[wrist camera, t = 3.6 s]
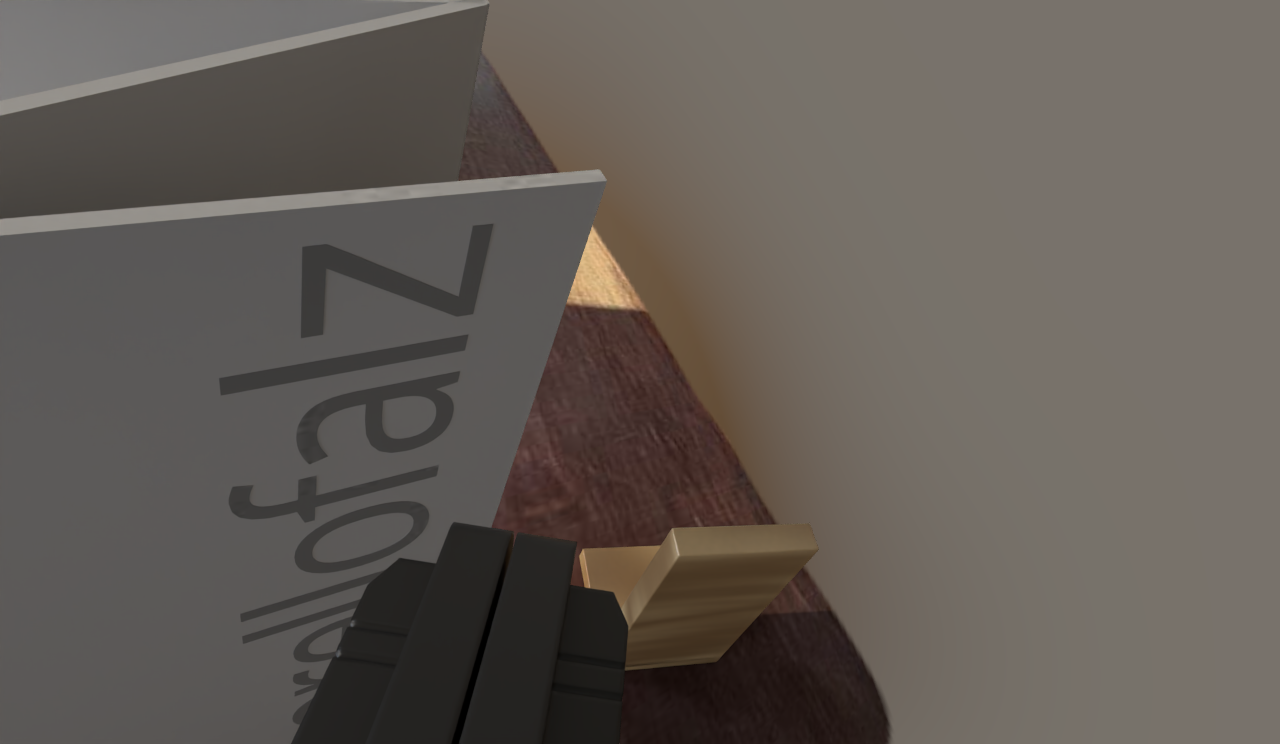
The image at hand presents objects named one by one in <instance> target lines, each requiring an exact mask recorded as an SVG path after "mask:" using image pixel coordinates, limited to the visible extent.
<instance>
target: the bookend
mask: <svg viewBox="0 0 1280 744" xmlns="http://www.w3.org/2000/svg"><path fill="white" fill-rule="evenodd" d="M818 550H819V549H818V545H817V543H816V540H815V537H814V534H813V531H812V528H811V525H810V524H779V525H750V526H721V527H692V528H672V529H671V531H670V532H669V534H668V535H667V537H666V539H665V540H664V542H663V543H662V545H661V546H639V547H616V548H592V549H583V550H582V552H581V554H580V556H579V557H580V563H581V569H582V575H583V580H584V586H585V587H586V588H592V589H598V590H605V591H611V592H614V594H615V596H616V599H617V601H618V603H619V605H620V608H621V610H622V612H623V615H624V617H625V619H626V621H627V624H628V626H629V627H628V640H627V652H626V664H625V671H626V670H636V669H647V668H658V667H668V666H679V665H690V664H700V663H711V662H717V661H718V660H719V659H720V658H721V657H722V655H723V654H724V653H725V652H726V651H727V650H728V649H729V648H730V647H731V645H732V644H733V643H734V642H735V641H736V640H737V639H738V638H739V637H740V636H741V634H742V633H743V632H744V631H745V630H746V629H747V628H748V627H749V626H750V625H751V623H752V622H753V621H754V620H755V619H756V618H757V617H758V616H759V615H760V614H761V613H762V611H763V610H764V609H765V608H766V607H767V606H768V605H769V604H770V603H771V602H772V600H773V599H774V598H775V597H776V596H777V595H778V594H779V593H780V592H781V591H782V589H783V588H784V587H785V586H786V585H787V584H788V583H789V582H790V581H791V580H792V579H793V577H794V576H795V575H796V574H797V573H798V572H799V571H800V570H801V569H802V568H803V566H804V565H805V564H806V563H807V562H808V561H809V560H810V559H811V558H812V556H813V555H814V554H815V553H816V552H817V551H818Z"/></svg>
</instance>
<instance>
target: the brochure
mask: <svg viewBox="0 0 1280 744" xmlns="http://www.w3.org/2000/svg"><path fill="white" fill-rule="evenodd" d="M488 9H489V2H488V1H487V0H0V744H291V742H292V740H293V738H294V736H295V734H296V732H297V730H298V728H299V726H300V724H301V722H302V720H303V718H304V716H305V713H306V711H307V709H308V707H309V705H310V703H311V701H312V699H313V697H314V695H315V693H316V691H317V689H318V687H319V684H320V682H321V680H322V678H323V676H324V674H325V672H326V670H327V668H328V666H329V664H330V662H331V660H332V658H333V657H335V655H336V650H337V647H338V645H339V643H340V641H341V639H342V637H343V635H344V633H345V631H346V629H347V627H349V626H350V622H351V618H352V616H353V614H354V612H355V610H356V608H357V606H358V604H359V602H360V600H361V597H362V595H363V593H364V591H365V589H366V587H367V585H368V584H369V583H370V582H371V581H373V580H374V579H375V578H376V577H377V576H379V575H380V574H381V573H382V572H383V571H385V570H386V569H387V568H388V567H389V566H391V565H392V564H393V563H394V562H395V561H397V560H398V559H399V558H405V559H411V560H417V561H423V562H430V563H436V562H437V559H438V557H439V554H440V552H441V549H442V547H443V544H444V541H445V539H446V536H447V534H448V531H449V529H450V527H451V525H452V523H453V522H458V523H465V524H471V525H477V526H483V527H490V528H491V527H492V524H493V521H494V518H495V515H496V512H497V509H498V506H499V503H500V500H501V497H502V494H503V491H504V488H505V485H506V482H507V479H508V476H509V473H510V470H511V467H512V464H513V461H514V458H515V455H516V452H517V449H518V446H519V443H520V440H521V437H522V434H523V431H524V428H525V425H526V422H527V419H528V416H529V413H530V410H531V407H532V404H533V401H534V398H535V395H536V392H537V389H538V386H539V383H540V380H541V377H542V374H543V371H544V368H545V365H546V362H547V359H548V356H549V353H550V350H551V347H552V344H553V341H554V338H555V335H556V332H557V329H558V326H559V323H560V320H561V317H562V314H563V311H564V308H565V305H566V302H567V299H568V296H569V293H570V290H571V287H572V284H573V281H574V278H575V275H576V272H577V269H578V266H579V263H580V260H581V257H582V254H583V251H584V248H585V245H586V242H587V239H588V236H589V233H590V230H591V227H592V224H593V221H594V218H595V215H596V212H597V209H598V206H599V203H600V200H601V197H602V194H603V191H604V188H605V185H606V182H607V180H606V178H605V177H604V175H603V174H602V173H601V171H600V170H588V171H576V172H564V173H551V174H539V175H527V176H515V177H503V178H491V179H479V180H467V181H458V177H459V171H460V166H461V160H462V155H463V149H464V143H465V138H466V132H467V127H468V121H469V115H470V110H471V104H472V99H473V93H474V87H475V82H476V76H477V71H478V65H479V59H480V54H481V48H482V42H483V36H484V31H485V25H486V20H487V14H488Z"/></svg>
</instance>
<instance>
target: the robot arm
mask: <svg viewBox="0 0 1280 744" xmlns="http://www.w3.org/2000/svg"><path fill="white" fill-rule="evenodd" d="M513 542H514V532H513V531H508V530H502V529H496V528H490V527H483V526H477V525H471V524H465V523H458V522H453V523H452V525H451V527H450V529H449V531H448V534H447V536H446V539H445V541H444V544H443V547H442V549H441V552H440V554H439V557H438V559H437V562H436V563H430V562H423V561H417V560H411V559H405V558H399V559H398V560H397V561H395V562H394V563H393V564H392V565H391V566H389V567H388V568H387V569H386V570H385V571H383V572H382V573H381V574H380V575H379V576H377V577H376V578H375V579H374V580H373V581H371V582H370V583H369V584H368V585H367V587H366V589H365V591H364V593H363V595H362V597H361V600H360V602H359V604H358V606H357V608H356V610H355V612H354V614H353V616H352V618H351V622H350V626H349V627H347V629H346V631H345V633H344V635H343V637H342V639H341V641H340V643H339V645H338V647H337V650H336V655H335V657H333V658H332V660H331V662H330V664H329V666H328V668H327V670H326V672H325V674H324V676H323V678H322V680H321V682H320V684H319V687H318V689H317V691H316V693H315V695H314V697H313V699H312V701H311V703H310V705H309V707H308V709H307V711H306V713H305V716H304V718H303V720H302V722H301V724H300V726H299V728H298V730H297V732H296V734H295V736H294V738H293V740H292V742H291V744H619V739H620V727H621V714H622V697H623V689H624V677H625V664H626V652H627V640H628V627H629V626H628V624H627V621H626V619H625V617H624V615H623V612H622V610H621V608H620V605H619V603H618V601H617V599H616V596H615V594H614V592H611V591H605V590H598V589H592V588H586V587H579V586H573V585H570V583H571V577H572V571H573V564H574V558H575V552H576V546H577V542H575V541H569V540H563V539H557V538H550V537H544V536H538V535H532V534H525V533H518V534H517V537H516V540H515V543H514V547H513Z"/></svg>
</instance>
